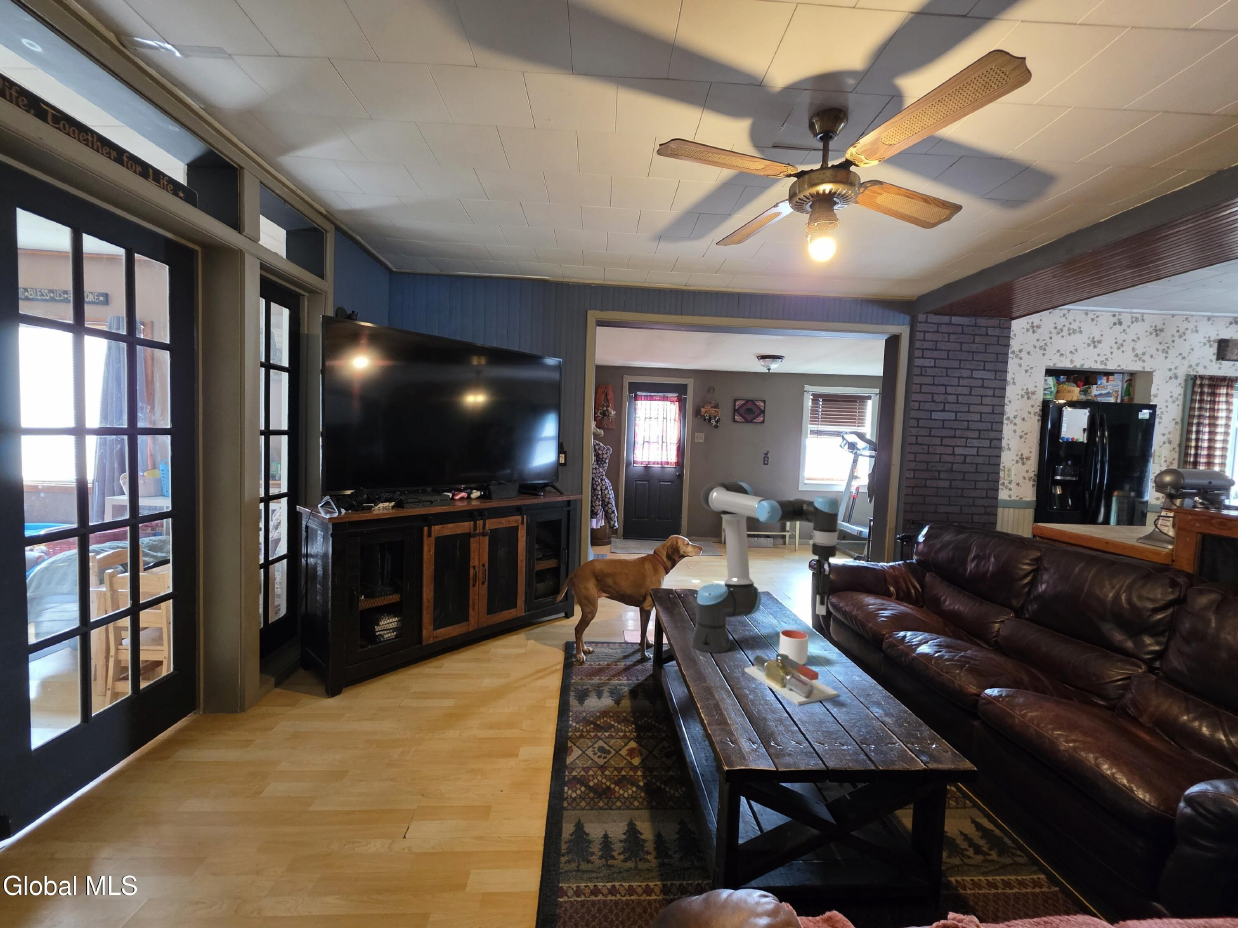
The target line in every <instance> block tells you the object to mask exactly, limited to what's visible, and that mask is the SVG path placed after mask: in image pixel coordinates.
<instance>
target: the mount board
mask: <svg viewBox="0 0 1238 928" xmlns="http://www.w3.org/2000/svg"><path fill="white" fill-rule="evenodd" d="M744 672H745V673H747V674H748V675H750V676H752V677H753V678H755V679H756V680H758V681H759V682H761V683H763V684H764V685H766V686H767V687H769V688H770V689H772V690H773V691H775V692H776V693H778V694H780V695H781V696H782V697H785V699H787V700H788V701H790V702H792V703H793V704H795V705H796V706H799V705H804V704H809V703H815V702H817V701H822V700H827V699H832V698H835V697H839V692H838V691H836V690H834V689H833V688H831V687H829V686H828V685H825V684H823V683H822V682H820V681H818V680H812V681H810V680H809V679H807V678H805V677H803V676H802V675H800V674H799V675H800V676H801V679H802V680H804V681H806V682H808V683H809V684H811V685H812V686H813V694H812V695H811V696H810V697H809V698H805V697H803V696H802V695H800V694H799V693H797V692H795V691H794V690H788V689H787V688H786V687H782V688H780V687H778V686H777V685H775V684H773V683H772V682H770V681H769V680H767V679H766V676H765V675H764V674H763V671H761V670H760V669H758V668H756V667H755V666H754V665H753V666H750V667H749V666H748V667H744ZM797 674H798V673H797Z"/></svg>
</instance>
